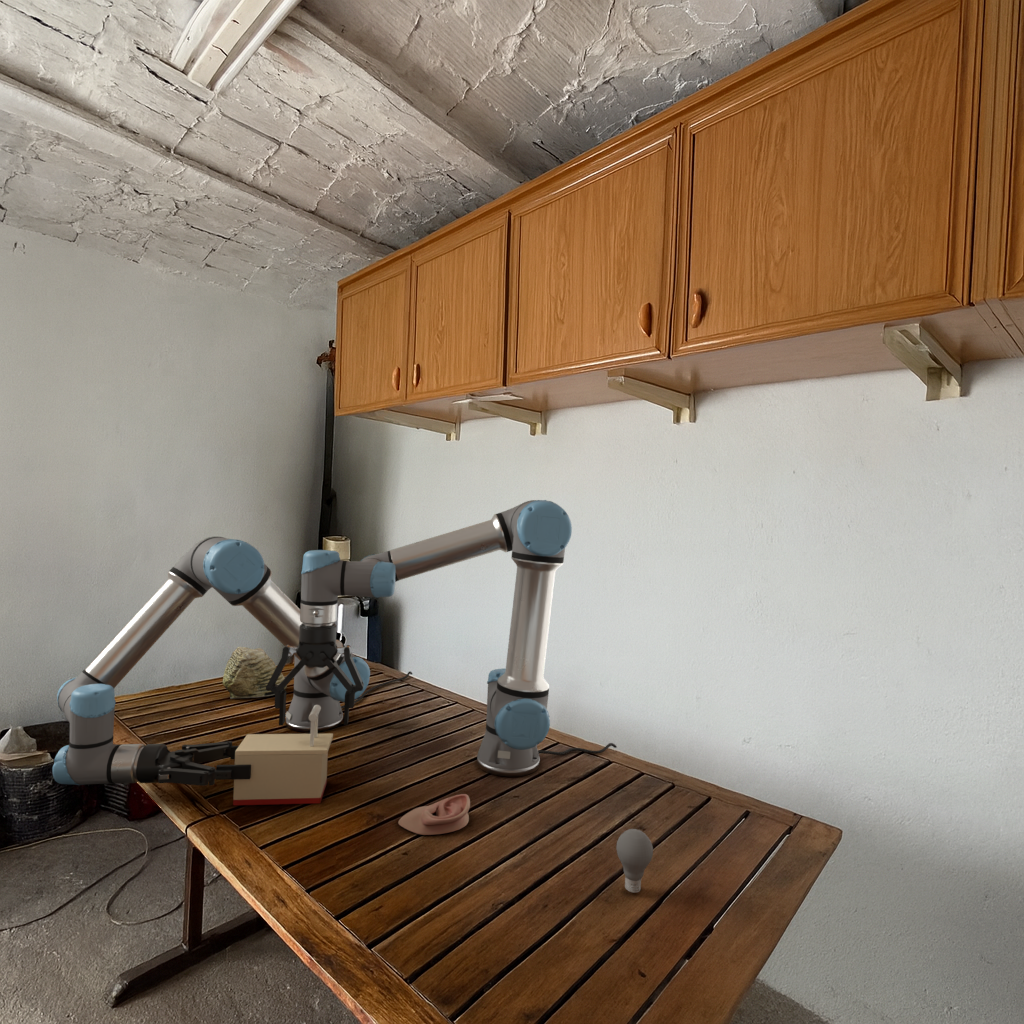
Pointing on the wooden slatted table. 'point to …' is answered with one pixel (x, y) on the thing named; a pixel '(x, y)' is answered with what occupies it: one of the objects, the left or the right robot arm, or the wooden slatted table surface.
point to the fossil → (249, 673)
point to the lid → (287, 741)
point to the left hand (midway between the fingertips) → (256, 761)
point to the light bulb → (634, 857)
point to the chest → (281, 779)
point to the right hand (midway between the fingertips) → (314, 723)
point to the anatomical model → (438, 816)
